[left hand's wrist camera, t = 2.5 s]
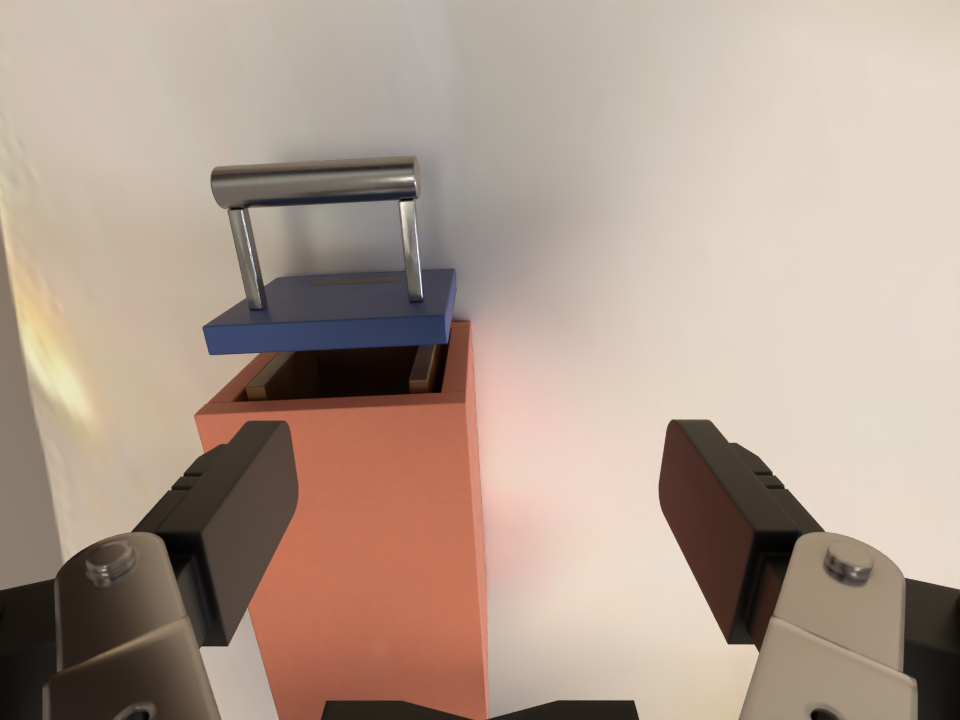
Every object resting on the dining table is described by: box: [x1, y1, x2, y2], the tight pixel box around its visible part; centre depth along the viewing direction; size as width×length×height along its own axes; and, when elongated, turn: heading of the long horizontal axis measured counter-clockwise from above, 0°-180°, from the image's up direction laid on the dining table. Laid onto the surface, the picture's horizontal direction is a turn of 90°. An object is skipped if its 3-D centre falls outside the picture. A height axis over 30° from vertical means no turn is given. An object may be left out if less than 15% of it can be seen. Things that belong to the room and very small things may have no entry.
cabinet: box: [194, 321, 488, 720], centre depth 29 cm, size 19×10×10 cm, turn 3°
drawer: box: [203, 156, 457, 402], centre depth 26 cm, size 23×9×8 cm, turn 3°
